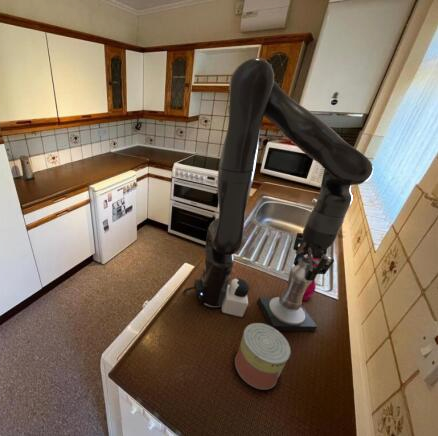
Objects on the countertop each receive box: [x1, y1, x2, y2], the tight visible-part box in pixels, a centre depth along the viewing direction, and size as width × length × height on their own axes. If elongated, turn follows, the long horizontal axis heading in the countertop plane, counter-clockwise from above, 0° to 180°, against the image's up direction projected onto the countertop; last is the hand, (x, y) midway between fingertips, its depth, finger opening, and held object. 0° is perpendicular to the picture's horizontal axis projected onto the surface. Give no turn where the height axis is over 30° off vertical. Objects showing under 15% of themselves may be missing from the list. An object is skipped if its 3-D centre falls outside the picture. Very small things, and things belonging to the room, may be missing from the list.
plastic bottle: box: [278, 256, 313, 312], centre depth 76 cm, size 6×7×20 cm
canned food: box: [234, 322, 292, 391], centre depth 65 cm, size 11×11×12 cm
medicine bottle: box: [221, 278, 251, 318], centre depth 83 cm, size 7×7×12 cm
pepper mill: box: [302, 255, 319, 301], centre depth 87 cm, size 7×7×20 cm
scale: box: [257, 296, 318, 332], centre depth 83 cm, size 14×12×3 cm
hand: (302, 272), depth 74 cm, fingers closed on plastic bottle, 6 cm apart
